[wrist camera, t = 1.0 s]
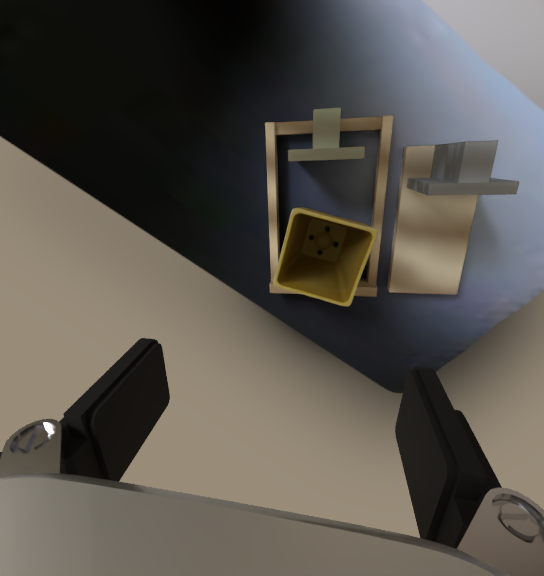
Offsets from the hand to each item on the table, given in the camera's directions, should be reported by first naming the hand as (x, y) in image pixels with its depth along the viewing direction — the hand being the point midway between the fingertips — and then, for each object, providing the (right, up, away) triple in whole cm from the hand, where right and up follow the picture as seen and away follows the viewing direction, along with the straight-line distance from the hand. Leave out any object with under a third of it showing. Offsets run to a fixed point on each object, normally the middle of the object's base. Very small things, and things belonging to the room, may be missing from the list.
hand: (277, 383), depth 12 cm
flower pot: (+7, +10, +28) cm, 31 cm away
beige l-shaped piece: (+19, +11, +25) cm, 33 cm away
